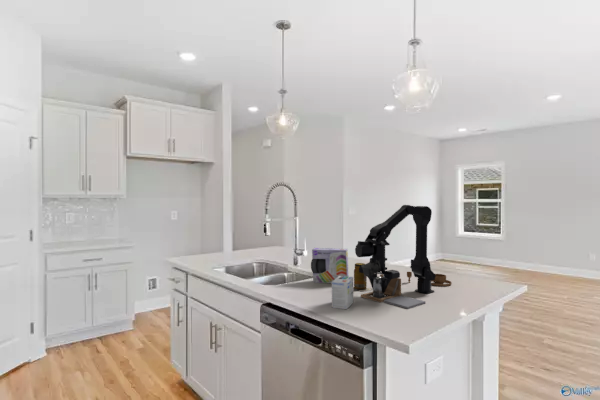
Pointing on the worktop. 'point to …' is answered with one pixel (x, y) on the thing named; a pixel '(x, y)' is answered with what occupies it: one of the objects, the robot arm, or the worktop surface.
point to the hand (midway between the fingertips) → (378, 291)
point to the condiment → (360, 279)
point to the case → (387, 291)
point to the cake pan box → (329, 264)
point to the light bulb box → (342, 292)
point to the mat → (404, 302)
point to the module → (378, 288)
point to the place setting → (437, 282)
